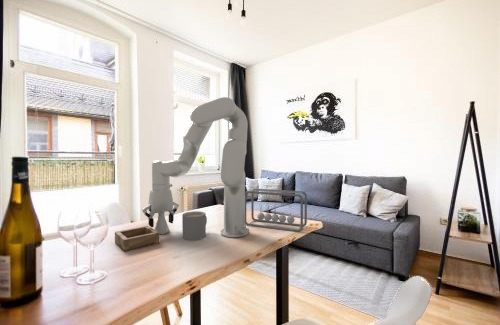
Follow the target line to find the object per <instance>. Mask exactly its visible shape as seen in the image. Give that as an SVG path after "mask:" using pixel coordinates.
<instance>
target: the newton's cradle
mask: <svg viewBox="0 0 500 325" xmlns="http://www.w3.org/2000/svg"><path fill="white" fill-rule="evenodd" d="M247 194H250V195H251V199H250V200H251V204H250V205H251V206H250V210H251V216H250V217H251V219H252V221H251V222H250V223H249V222H247ZM255 194H256V195H258V196H259V198H258V199H261V198H260V197H261V196H263V195H266V198H265V199H268V198H267V195H268V196H271V195H272V196H275V197H277V196H283V197H282V198H280V200H281V206H283V202H284V200H285V196H287V197H297V198H300V220H299V221H300V223H295V220H296V219H295V217H294V216H293V215H292V214H290V215H289V216H287V217H286V215H285V214H284V213H281V214H280V215H278V214H276V213H277V212H276V210H277V209H276V208H277V207H276V205H273V206H274V213H273V214H271V213H270V212H269V210H270V209H269V208H270V207H269V204H267V208H266V210H267V211H266V212H267V213H265V214H264V212H262V207H263V205H260V207H259V208H260V212H258V214H257V216H256V217H257V218H255V217H254V213H255V212H254V203H255V202H254V197H255V196H254V195H255ZM303 196H304V198H303ZM288 206H289V207H291V201H288ZM254 222H258V223H269V224H277V225H285V226H292V227H293V226H294V227H299V228H298V229H295V228H289V227H279V226H272V225H265V224H257V223H254ZM307 222H308V196H307V193H306V192H305V191H304V190H303V191H301V190H287V189H283V190H282V189H267V188H253V189H252V190H245V224H246V226H249V227H255V228H256V227H257V228H265V229H271V230H279V231H287V232H295V233H300V232H302V231H303V229H304V227H305V226H306V225H307Z"/></svg>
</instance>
